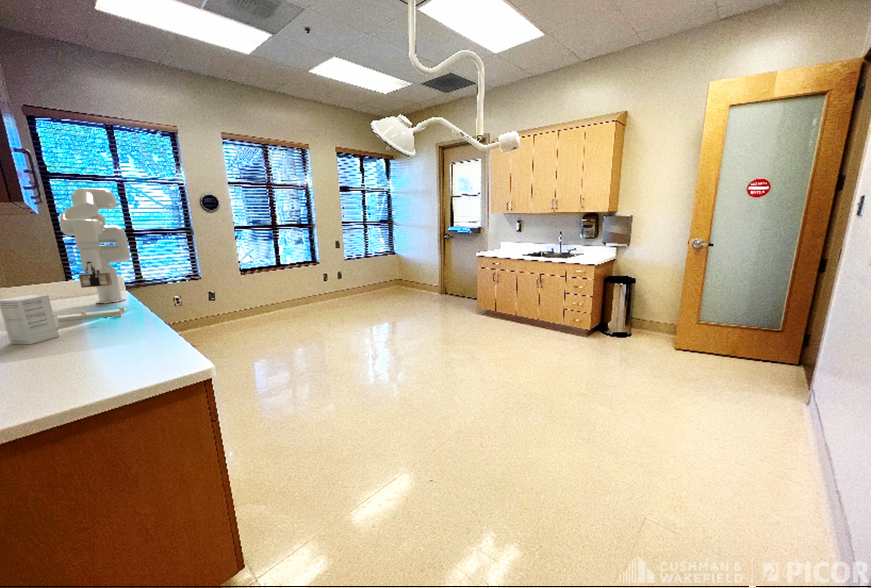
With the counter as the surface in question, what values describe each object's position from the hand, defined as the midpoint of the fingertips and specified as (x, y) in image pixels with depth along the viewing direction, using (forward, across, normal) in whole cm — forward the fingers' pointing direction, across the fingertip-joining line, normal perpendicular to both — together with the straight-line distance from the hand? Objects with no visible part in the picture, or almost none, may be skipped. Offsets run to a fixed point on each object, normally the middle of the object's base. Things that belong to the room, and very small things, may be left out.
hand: (97, 284), depth 165 cm
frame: (+1, 0, 0) cm, 1 cm away
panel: (+15, 0, -6) cm, 16 cm away
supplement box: (+15, +33, -13) cm, 39 cm away
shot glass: (+15, +19, -13) cm, 28 cm away
